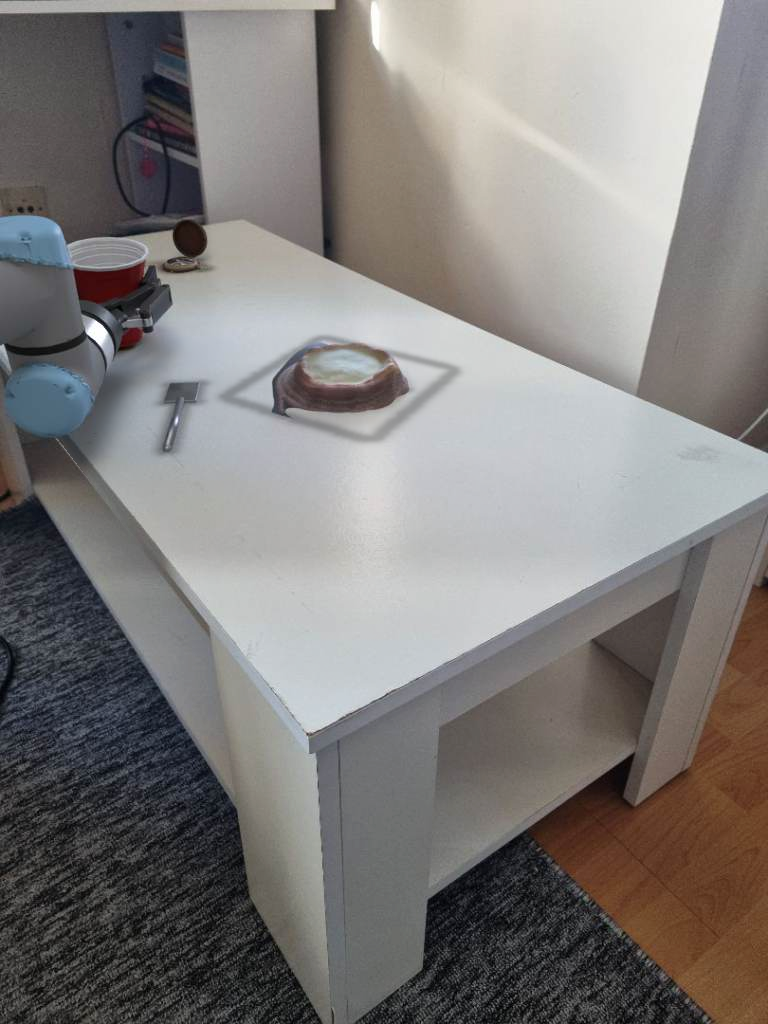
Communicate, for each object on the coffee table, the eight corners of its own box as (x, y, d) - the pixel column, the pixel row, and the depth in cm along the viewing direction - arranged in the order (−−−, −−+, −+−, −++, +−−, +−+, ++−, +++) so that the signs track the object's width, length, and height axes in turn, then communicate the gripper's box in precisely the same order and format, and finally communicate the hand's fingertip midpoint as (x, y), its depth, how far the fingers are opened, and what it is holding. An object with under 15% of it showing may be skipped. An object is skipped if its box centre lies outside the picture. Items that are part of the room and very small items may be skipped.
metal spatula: (149, 456, 84) (148, 448, 84) (171, 388, 97) (169, 381, 96) (184, 455, 84) (183, 447, 84) (201, 387, 97) (200, 380, 97)
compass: (155, 273, 132) (148, 228, 127) (179, 259, 138) (173, 215, 134) (199, 278, 130) (193, 232, 125) (221, 264, 136) (216, 219, 132)
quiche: (321, 340, 109) (320, 312, 107) (456, 373, 101) (458, 343, 99) (223, 401, 94) (219, 370, 92) (371, 446, 86) (370, 412, 84)
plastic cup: (111, 363, 100) (91, 268, 94) (62, 342, 106) (39, 250, 99) (180, 337, 107) (166, 246, 100) (129, 318, 113) (113, 231, 106)
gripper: (-11, 379, 89) (43, 305, 108) (182, 372, 91) (203, 301, 109) (-31, 314, 85) (29, 249, 104) (173, 308, 86) (196, 245, 105)
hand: (118, 276), depth 106 cm, fingers closed on plastic cup, 8 cm apart
